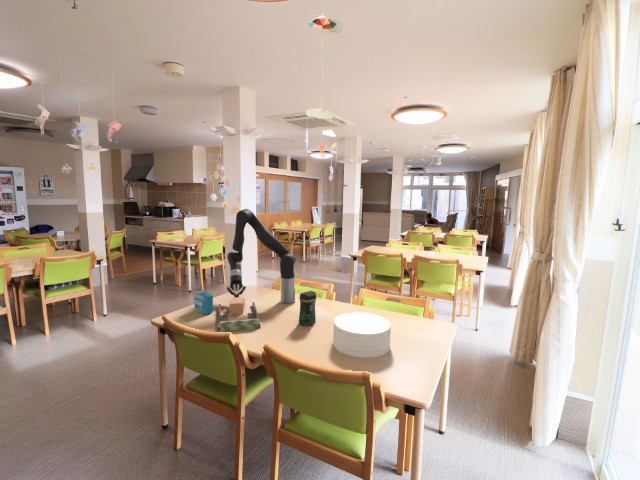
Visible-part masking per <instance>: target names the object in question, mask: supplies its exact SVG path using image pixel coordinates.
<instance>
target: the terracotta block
mask: <svg viewBox="0 0 640 480" xmlns="http://www.w3.org/2000/svg"><path fill="white" fill-rule="evenodd" d="M245 300H246V298H245V297H244V296H243V297H241V296H239V297H238V298H234V297H231V299H230V301H229V304H228V305H229V315H230V316H231V315H244V312H245V306H246V303H245Z"/></svg>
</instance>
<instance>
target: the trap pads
mask: <svg viewBox="0 0 640 480" xmlns="http://www.w3.org/2000/svg"><path fill="white" fill-rule="evenodd" d="M228 317H229V316H228V314H221V321H229V320H228V319H229V318H228ZM247 317H248V319H256V317H255V313H254V312H247Z"/></svg>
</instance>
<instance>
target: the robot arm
mask: <svg viewBox="0 0 640 480" xmlns="http://www.w3.org/2000/svg"><path fill="white" fill-rule="evenodd" d="M247 224H248V225H249V226H251V228H252V229H253V230H254V233H255V235H256V237H257V239H258V240H259V242H260V243H261V244H262V245H263V246H264V247H266V249H268V250H269V251H271V252H273V253H275V254H276V255H277V256H278V257H279V258H280V261H279V268H280V269H279V272H280V302H281V303H282V304H293V303H296V288H295V276H296V275H295V271H294V270H295V269H294V265H296V256H295V255H294V254H293V253H292V252H290V251H289V250H288V249H287V248H286V247H284V245H283V244H282V243H281V242H280V241H279V239H278V238H277V237H275V235H274V234H273V233H272V232H271V231H270V230H269V229H268V228H267V227H266V226H265V225H264V224H263V223H262V222H261V221H260V220H259V219H258V217H257V216H256V215H255V213H254V212H253V210H251V209H249V208H243V209H242V210H239V211H238V212H237V213H236V216H235V230H234V237H233V243H232V246H231V247H232V250H234V251H230V252H228V253H227V261H228V264H229V267H230V268H229V270H230V271H229V272H230V274H229V277H230V279H229V283H230V285H229V286H227V287H226V291H227V292H228V293H229V294H230V295H231V296H234V297H233V298H238V297H240V295H242V294H243V293H244V292H245V290H246V289H247V286H245V285H243V281H242V280H243V279H242V278H243V277H242V276H243V275H242V269H241V268H242V266H241V264H240V263H241V262H243V260H244V254H243V248H244V245H245V244H244V242H245V227H246V226H247Z"/></svg>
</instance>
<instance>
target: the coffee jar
mask: <svg viewBox="0 0 640 480" xmlns="http://www.w3.org/2000/svg"><path fill="white" fill-rule="evenodd" d="M316 300H317V293H316V292H315V291H313V290H309V291H305V292H301V293H300V294H299V303H300V304H299V305H300V306H299V315H298V316H299V317H298V323H299V324H300V325H301V326H311V325H313V324H315V323H316V321H317V320H316Z"/></svg>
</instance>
